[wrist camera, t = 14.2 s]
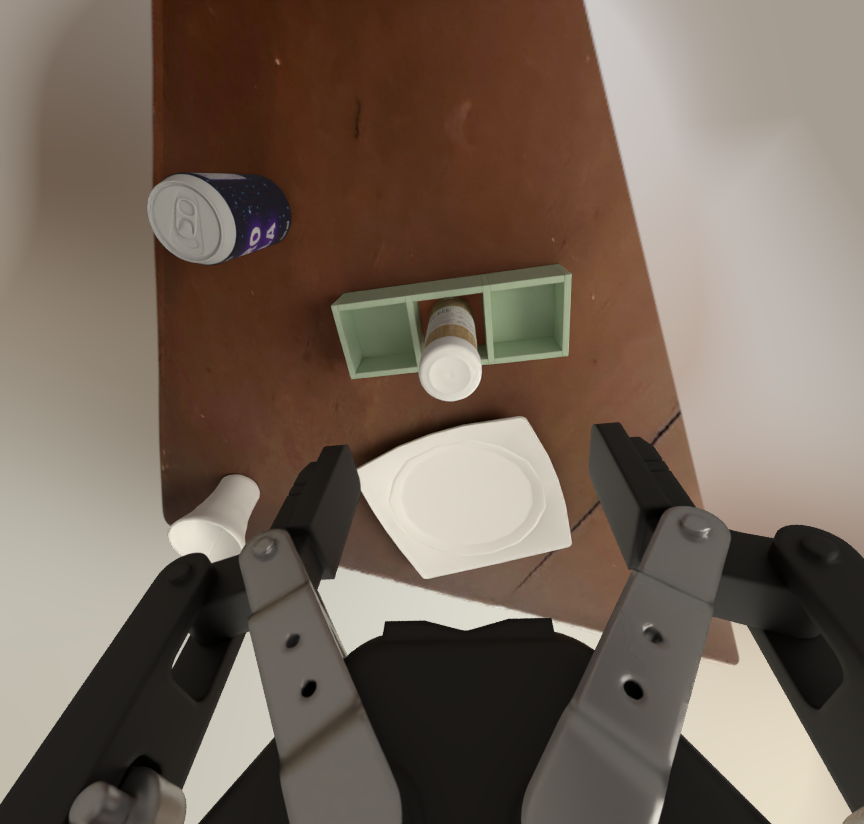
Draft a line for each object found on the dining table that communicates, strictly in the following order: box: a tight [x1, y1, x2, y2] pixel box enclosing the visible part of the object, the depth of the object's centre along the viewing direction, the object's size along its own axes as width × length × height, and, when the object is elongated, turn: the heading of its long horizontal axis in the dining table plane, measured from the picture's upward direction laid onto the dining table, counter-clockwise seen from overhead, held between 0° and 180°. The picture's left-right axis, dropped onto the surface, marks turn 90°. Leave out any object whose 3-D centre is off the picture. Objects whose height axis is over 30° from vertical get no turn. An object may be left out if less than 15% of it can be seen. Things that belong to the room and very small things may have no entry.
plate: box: [356, 416, 572, 579], centre depth 51 cm, size 24×24×3 cm
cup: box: [168, 474, 260, 563], centre depth 50 cm, size 9×9×10 cm
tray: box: [331, 264, 572, 379], centre depth 38 cm, size 21×8×5 cm, turn 98°
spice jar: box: [419, 297, 482, 401], centre depth 33 cm, size 5×4×13 cm
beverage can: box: [147, 173, 291, 265], centre depth 30 cm, size 6×6×12 cm
